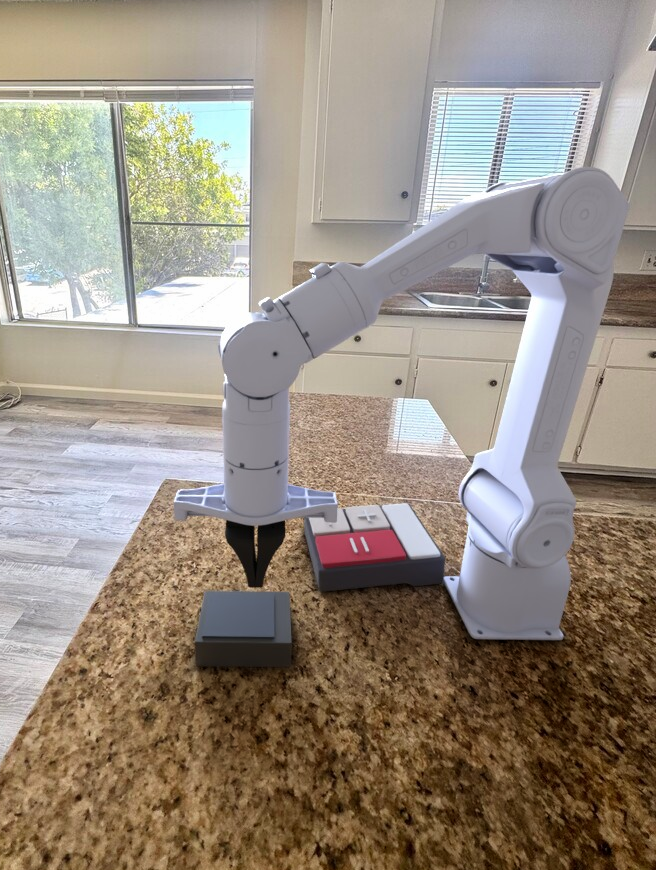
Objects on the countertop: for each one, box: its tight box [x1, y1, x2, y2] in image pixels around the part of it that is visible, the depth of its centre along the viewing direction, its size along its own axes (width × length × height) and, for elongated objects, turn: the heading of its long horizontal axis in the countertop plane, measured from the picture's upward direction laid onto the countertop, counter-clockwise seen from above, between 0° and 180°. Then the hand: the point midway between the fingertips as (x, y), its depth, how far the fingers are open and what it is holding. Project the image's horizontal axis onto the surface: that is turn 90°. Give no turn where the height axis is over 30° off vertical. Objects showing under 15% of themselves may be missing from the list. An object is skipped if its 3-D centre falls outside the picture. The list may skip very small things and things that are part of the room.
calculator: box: [303, 502, 446, 592], centre depth 53 cm, size 11×4×15 cm
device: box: [194, 590, 293, 668], centre depth 42 cm, size 3×6×9 cm
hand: (255, 579), depth 40 cm, fingers closed
